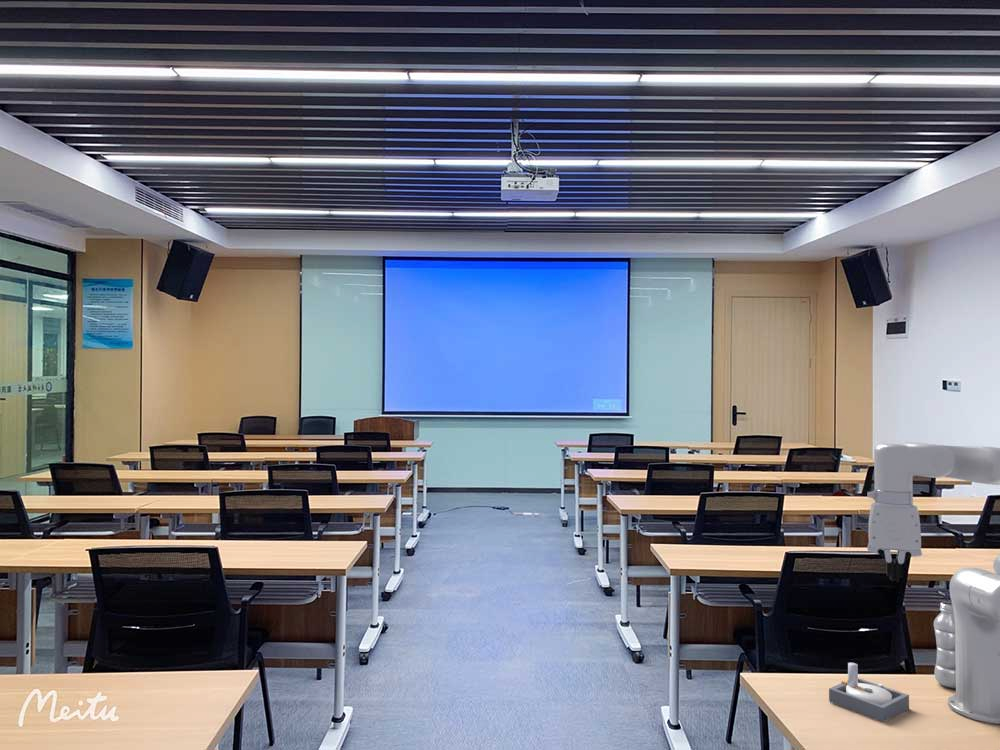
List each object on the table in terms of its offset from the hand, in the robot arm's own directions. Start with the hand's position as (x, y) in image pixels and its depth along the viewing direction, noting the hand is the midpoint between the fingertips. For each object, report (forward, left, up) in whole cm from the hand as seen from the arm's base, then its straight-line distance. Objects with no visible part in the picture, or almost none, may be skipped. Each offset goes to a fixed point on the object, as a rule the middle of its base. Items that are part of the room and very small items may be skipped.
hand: (894, 579), depth 153 cm
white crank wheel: (+2, -5, -28) cm, 28 cm away
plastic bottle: (-26, +1, -29) cm, 39 cm away
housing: (+2, -5, -29) cm, 30 cm away
